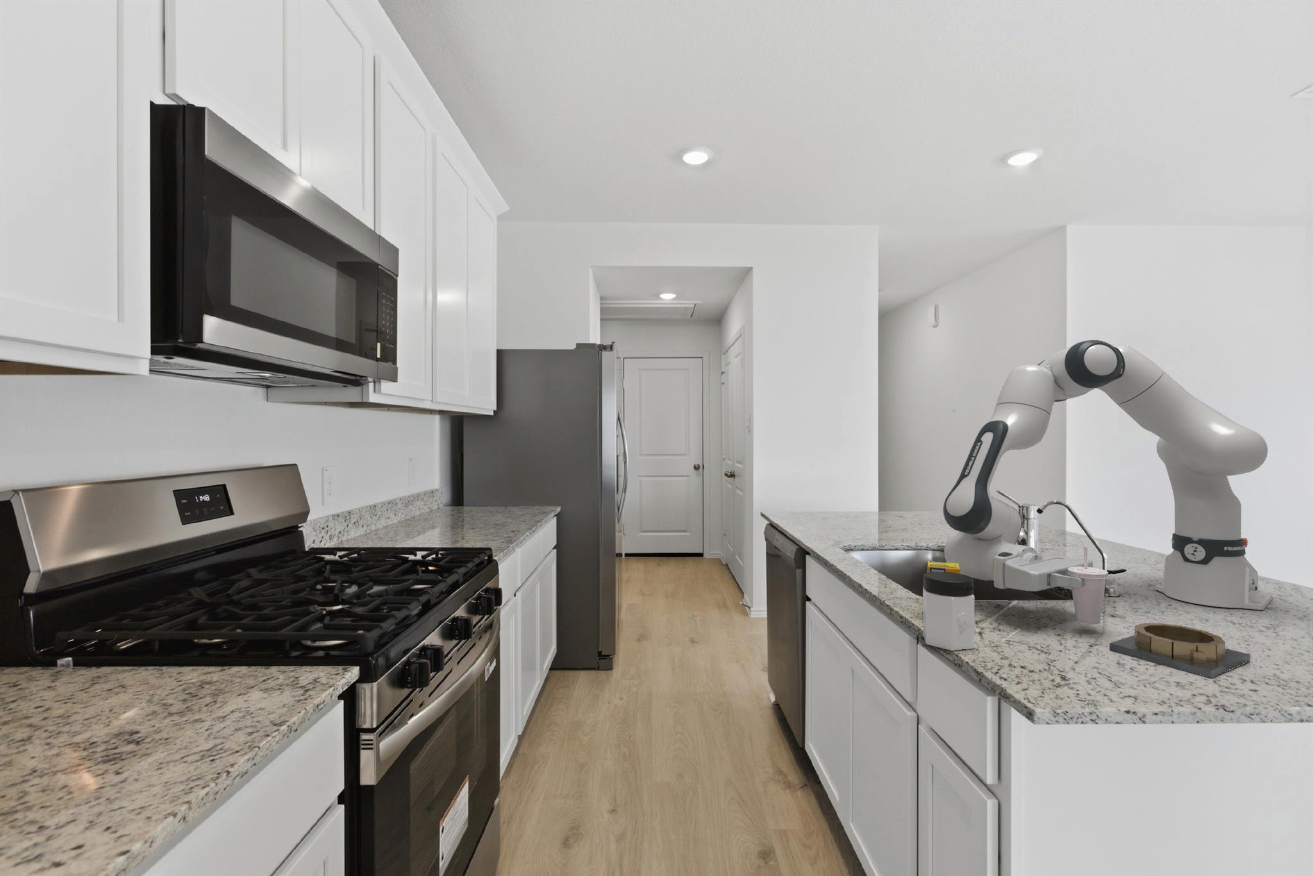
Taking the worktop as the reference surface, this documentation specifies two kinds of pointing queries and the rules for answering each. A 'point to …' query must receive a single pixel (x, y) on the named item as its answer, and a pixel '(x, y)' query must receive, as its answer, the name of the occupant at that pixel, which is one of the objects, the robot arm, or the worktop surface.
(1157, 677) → the worktop surface
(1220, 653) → the socket
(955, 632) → the jar
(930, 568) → the supplement box
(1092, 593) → the smoothie
